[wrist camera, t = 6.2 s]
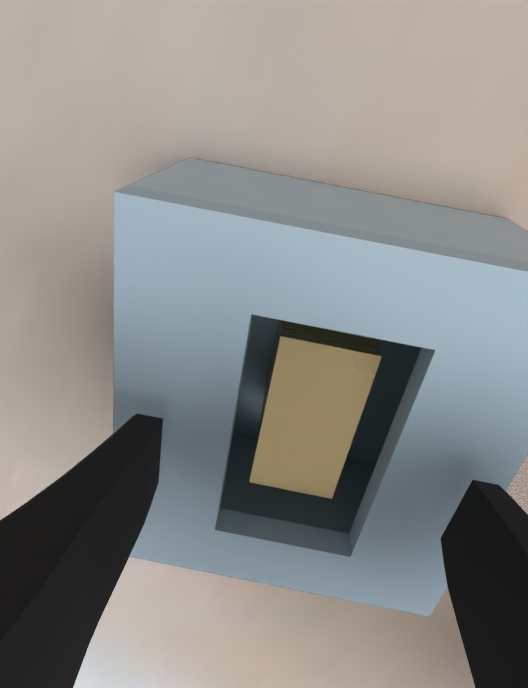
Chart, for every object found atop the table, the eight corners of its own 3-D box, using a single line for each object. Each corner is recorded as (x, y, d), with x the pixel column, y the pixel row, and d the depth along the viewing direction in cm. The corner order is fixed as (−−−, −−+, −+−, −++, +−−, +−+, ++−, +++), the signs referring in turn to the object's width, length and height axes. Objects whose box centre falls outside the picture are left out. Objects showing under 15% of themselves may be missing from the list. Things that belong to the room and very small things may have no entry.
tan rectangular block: (363, 288, 15) (381, 356, 11) (328, 408, 17) (331, 498, 13) (289, 273, 15) (280, 336, 11) (264, 395, 17) (249, 482, 13)
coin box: (508, 219, 14) (626, 291, 9) (397, 475, 19) (429, 617, 14) (190, 157, 14) (113, 192, 9) (168, 429, 19) (113, 553, 14)
